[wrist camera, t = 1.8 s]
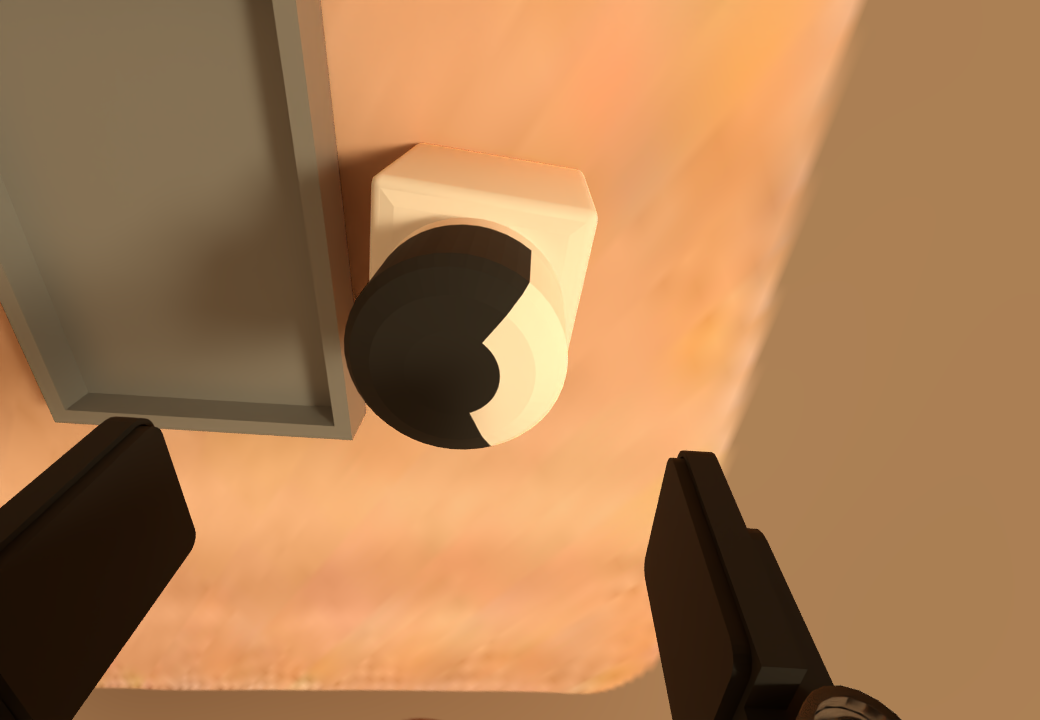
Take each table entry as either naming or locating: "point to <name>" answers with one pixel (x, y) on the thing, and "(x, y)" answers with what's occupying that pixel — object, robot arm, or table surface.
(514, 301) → the medicine bottle
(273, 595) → the table surface
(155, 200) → the gray tray
